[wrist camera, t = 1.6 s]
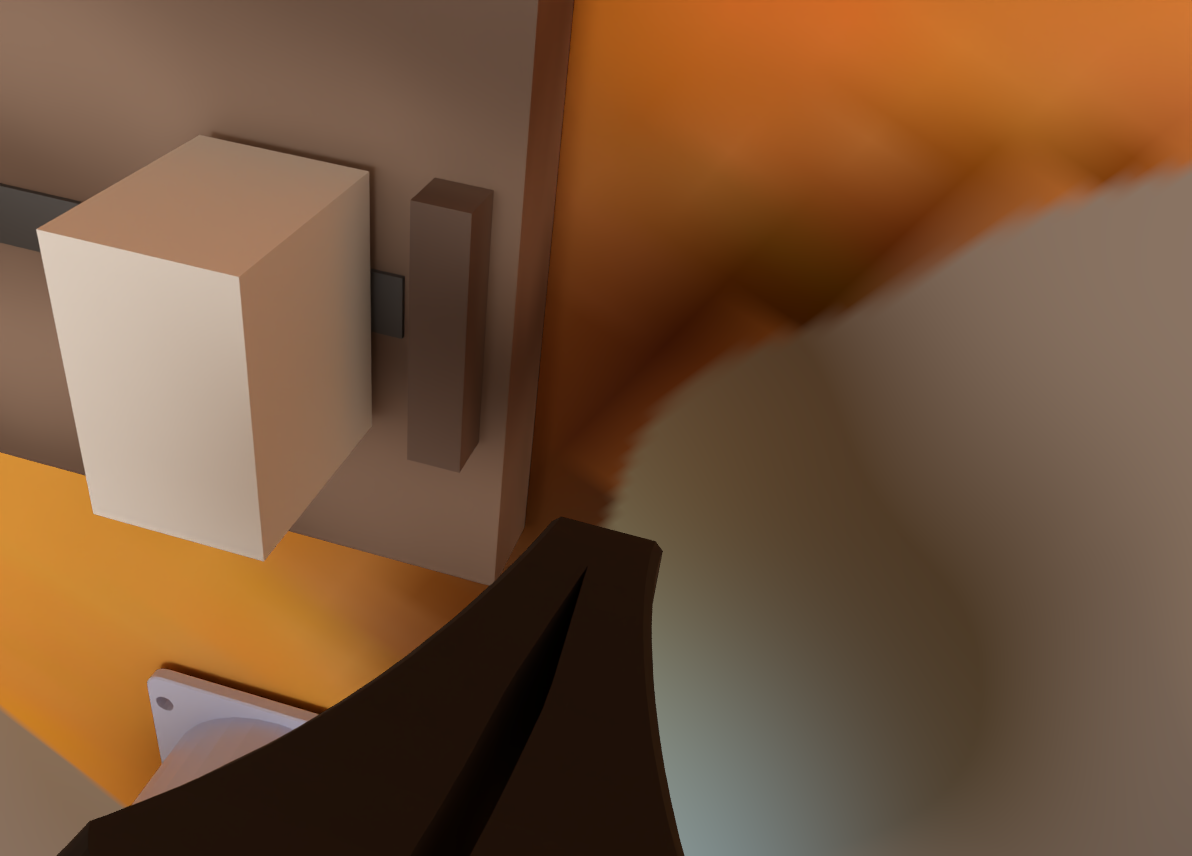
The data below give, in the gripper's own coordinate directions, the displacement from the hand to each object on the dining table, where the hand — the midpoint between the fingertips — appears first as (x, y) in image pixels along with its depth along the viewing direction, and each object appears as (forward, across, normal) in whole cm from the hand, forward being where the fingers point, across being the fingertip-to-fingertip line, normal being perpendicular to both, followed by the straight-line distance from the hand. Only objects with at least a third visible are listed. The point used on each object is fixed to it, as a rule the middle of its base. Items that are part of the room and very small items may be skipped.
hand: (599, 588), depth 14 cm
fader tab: (+5, +7, 0) cm, 9 cm away
